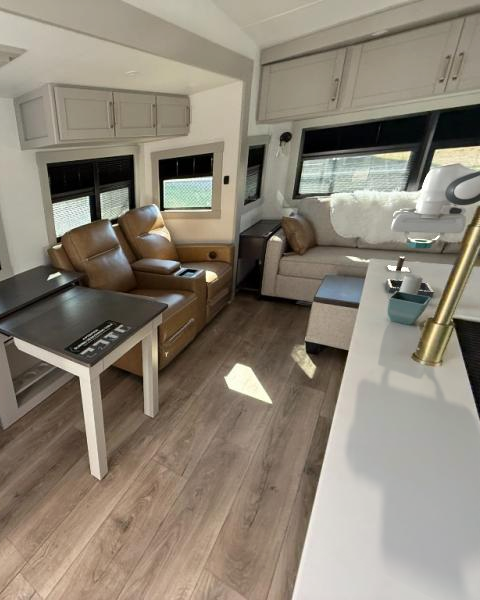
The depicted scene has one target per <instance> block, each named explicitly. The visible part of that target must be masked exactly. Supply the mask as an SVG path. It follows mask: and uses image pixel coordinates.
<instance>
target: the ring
mask: <svg viewBox="0 0 480 600" xmlns="http://www.w3.org/2000/svg"><path fill="white" fill-rule="evenodd" d="M432 243H433V242H432V240H430V239H424V238H423V239H422V238H413V239H412V238H411V241H410V243H408V244H407V247H409V248H412V249H423V250H424V249H431V248H432V246H433V244H432Z"/></svg>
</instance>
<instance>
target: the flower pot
mask: <svg viewBox="0 0 480 600" xmlns="http://www.w3.org/2000/svg"><path fill="white" fill-rule="evenodd" d="M431 299H432V298H431V297H427V296H422V295H416V294H410V293H405V292H399V291H396V292H395V293H392V294H391V295H390V296H389V297H388V301H387V302H388V303H387V309H386V312H387V316H388V318H389V320H390V321H391V322H395V323H400V324H404V325H409V326H410V325H413V324H414V323H415V322H416V321H418V319H419V318H420V317H421V315H422V314H424V312H425V310H426V309H427V307H428V304H429V303H430V301H431Z"/></svg>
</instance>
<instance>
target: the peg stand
mask: <svg viewBox="0 0 480 600" xmlns="http://www.w3.org/2000/svg"><path fill="white" fill-rule="evenodd" d="M405 260H406V257H405V256H399V257H398V260H397V263H396V266H393V265H387V268H388V270H389V271H396V272H407V273H410V272H411V271H410V269H409V267H406V266H404V262H405Z"/></svg>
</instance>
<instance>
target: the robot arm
mask: <svg viewBox="0 0 480 600" xmlns="http://www.w3.org/2000/svg"><path fill="white" fill-rule="evenodd" d="M478 202H480V169H479V170H476V169H472V168H470V167H467V166H464V165H463V164H462V163H459V162H454V163H449V164H443V165H438V166H435V167H433V168H431V169H430V170H429V172H428V173H427V174H426V177H425V179H424V182H423V184H422V188H421V195H420V197H419V198H418V200H417V202H416V203H417V204H416V205H415V208H399V209H397V210H395V211H394V212H393V216H392V219H393V221H392V223H391V225H390V230H391V231H392V232H394V233H395V232H397V233H398V232H399V233H403V236H404V238H405V239H404V243H405V244H407V243H408V244H409V243H410V241H411V240H412V238H411V237H408V235H409V234H410V233H425V234H427V233H430V234H431V233H432V234H437V235H438V236H437V237H435V238H432V239H431V241H432V242H433V243H432V245H437V244H438V243H439V240H441V239H442V238H443V237H445V234H461V233H463V232H464V231H465V227H466V222H467V217H466V216H465V214H466V212H467V208H466V207H464V206H470V205H474V204H477V203H478Z"/></svg>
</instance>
